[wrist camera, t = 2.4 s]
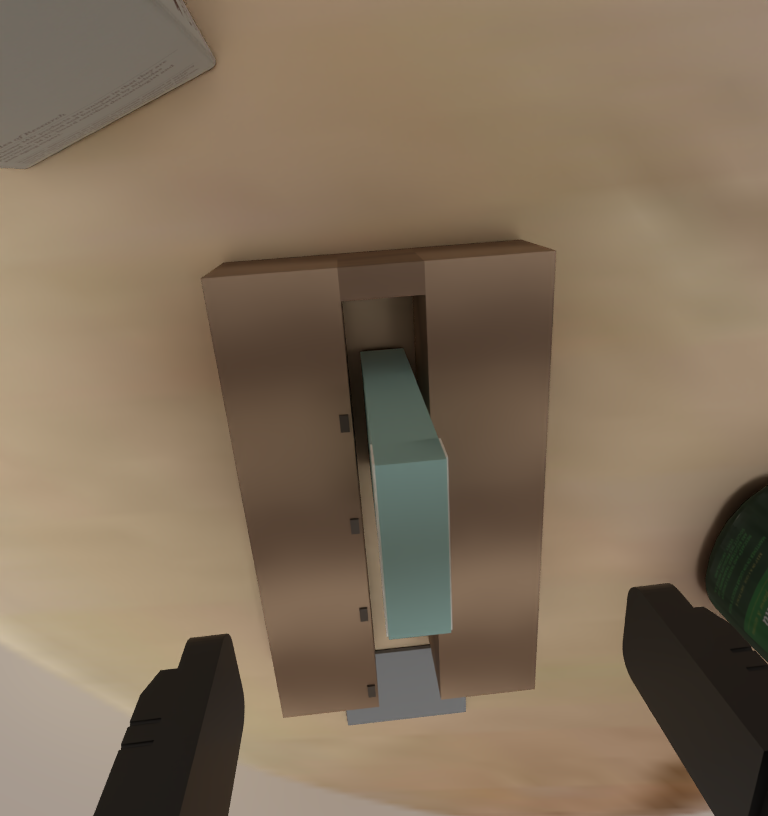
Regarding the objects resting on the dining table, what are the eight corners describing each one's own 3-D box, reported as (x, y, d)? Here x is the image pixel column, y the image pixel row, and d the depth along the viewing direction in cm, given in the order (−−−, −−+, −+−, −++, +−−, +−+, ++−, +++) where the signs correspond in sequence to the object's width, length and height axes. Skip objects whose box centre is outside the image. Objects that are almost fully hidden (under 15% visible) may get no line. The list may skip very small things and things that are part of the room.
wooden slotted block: (223, 262, 20) (200, 278, 16) (521, 239, 20) (557, 251, 17) (289, 652, 26) (282, 719, 23) (511, 628, 27) (535, 690, 24)
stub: (358, 351, 21) (372, 466, 12) (404, 348, 21) (448, 458, 12) (369, 470, 23) (387, 639, 14) (410, 467, 23) (453, 632, 14)
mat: (339, 654, 27) (339, 658, 27) (463, 641, 27) (464, 644, 27) (348, 721, 28) (348, 725, 28) (464, 708, 29) (465, 711, 28)
